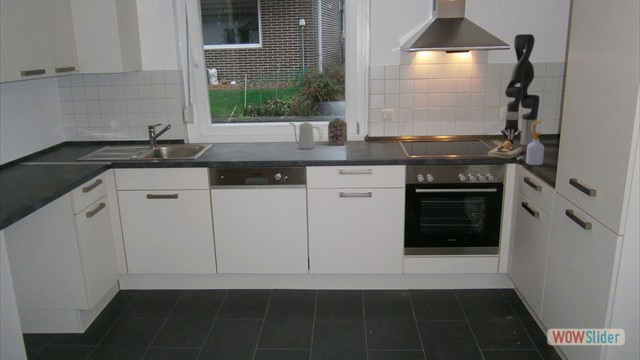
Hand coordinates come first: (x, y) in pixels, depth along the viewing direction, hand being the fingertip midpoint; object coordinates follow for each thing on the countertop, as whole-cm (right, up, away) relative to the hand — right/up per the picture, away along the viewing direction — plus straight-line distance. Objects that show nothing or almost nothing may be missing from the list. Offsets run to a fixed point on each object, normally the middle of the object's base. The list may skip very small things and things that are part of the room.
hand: (510, 145), depth 334 cm
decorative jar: (-109, +3, +38) cm, 116 cm away
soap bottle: (+1, -13, -34) cm, 36 cm away
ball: (-4, 0, -6) cm, 7 cm away
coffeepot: (-132, 0, +27) cm, 134 cm away
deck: (-6, -6, -7) cm, 11 cm away
